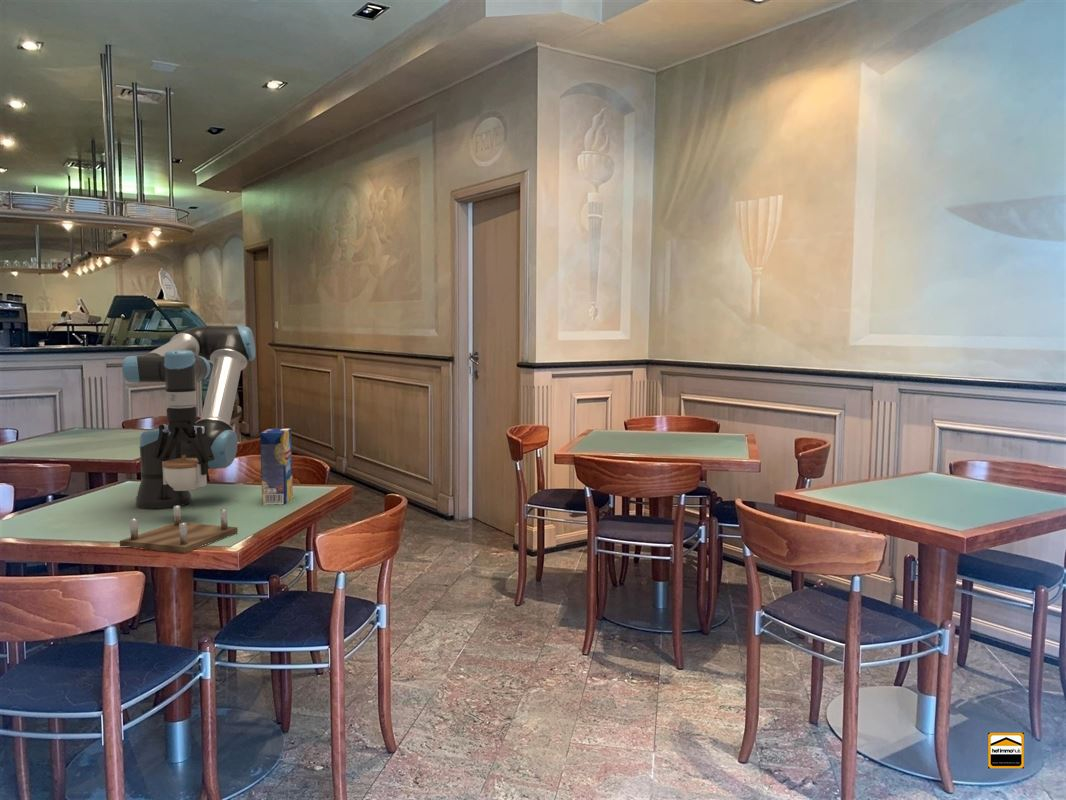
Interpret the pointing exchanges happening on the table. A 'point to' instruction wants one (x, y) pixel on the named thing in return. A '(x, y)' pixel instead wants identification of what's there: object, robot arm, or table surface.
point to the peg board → (178, 537)
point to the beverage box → (276, 466)
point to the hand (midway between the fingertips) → (185, 484)
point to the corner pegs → (177, 522)
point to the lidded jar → (181, 473)
